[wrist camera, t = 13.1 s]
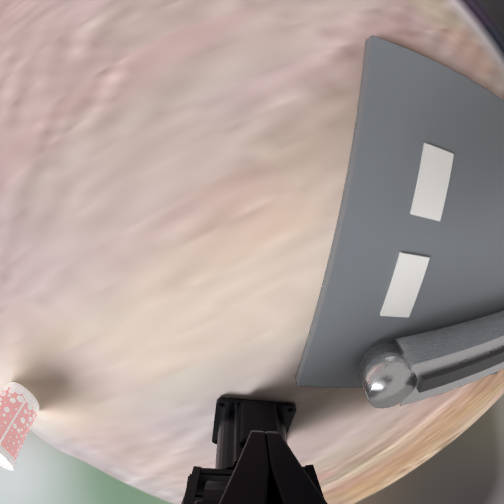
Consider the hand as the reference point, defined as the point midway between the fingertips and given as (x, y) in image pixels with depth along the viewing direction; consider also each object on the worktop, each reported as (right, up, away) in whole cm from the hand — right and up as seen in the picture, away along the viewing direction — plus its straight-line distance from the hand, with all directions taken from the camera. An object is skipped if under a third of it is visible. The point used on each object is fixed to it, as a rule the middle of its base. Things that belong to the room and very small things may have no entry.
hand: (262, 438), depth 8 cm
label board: (+16, +6, +11) cm, 20 cm away
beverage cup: (-26, -11, +16) cm, 32 cm away
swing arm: (+17, -2, +12) cm, 21 cm away
